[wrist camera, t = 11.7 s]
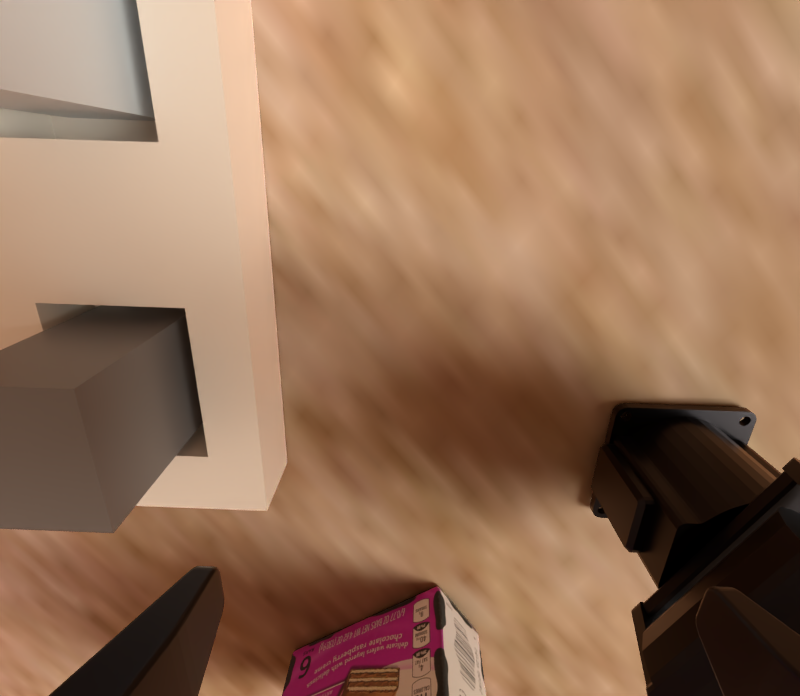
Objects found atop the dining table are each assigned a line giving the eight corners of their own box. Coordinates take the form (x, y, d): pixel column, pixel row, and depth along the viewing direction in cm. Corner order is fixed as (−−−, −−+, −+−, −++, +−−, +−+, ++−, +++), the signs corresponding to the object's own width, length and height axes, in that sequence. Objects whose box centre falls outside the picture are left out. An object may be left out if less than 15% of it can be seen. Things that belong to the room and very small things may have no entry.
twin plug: (202, 303, 19) (74, 388, 12) (216, 405, 21) (113, 533, 14) (110, 300, 19) (-74, 383, 12) (133, 402, 21) (-15, 527, 14)
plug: (153, -47, 15) (-102, -257, 7) (176, 122, 17) (-10, 87, 9) (33, -51, 15) (-339, -265, 8) (70, 117, 17) (-200, 79, 9)
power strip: (237, -176, 14) (178, -290, 10) (287, 462, 23) (265, 515, 20) (-80, -184, 14) (-243, -300, 11) (93, 455, 23) (37, 506, 20)
